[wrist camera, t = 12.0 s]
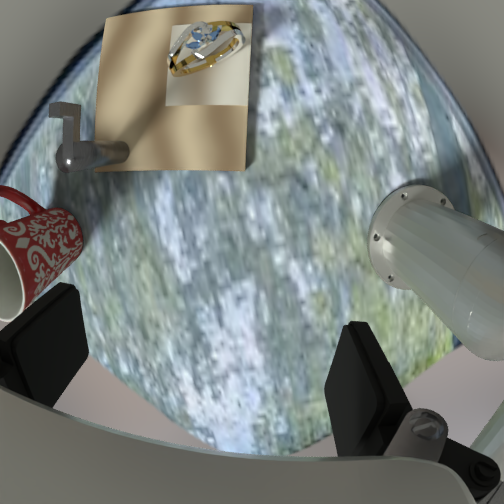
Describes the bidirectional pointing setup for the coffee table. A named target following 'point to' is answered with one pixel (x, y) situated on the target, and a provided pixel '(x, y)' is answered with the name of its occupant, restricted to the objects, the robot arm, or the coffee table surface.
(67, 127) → the keeper hook
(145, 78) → the board
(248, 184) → the coffee table surface
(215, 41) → the ring
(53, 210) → the mug
